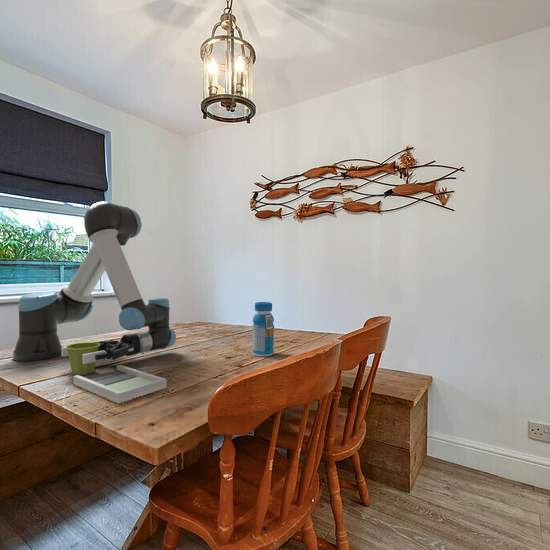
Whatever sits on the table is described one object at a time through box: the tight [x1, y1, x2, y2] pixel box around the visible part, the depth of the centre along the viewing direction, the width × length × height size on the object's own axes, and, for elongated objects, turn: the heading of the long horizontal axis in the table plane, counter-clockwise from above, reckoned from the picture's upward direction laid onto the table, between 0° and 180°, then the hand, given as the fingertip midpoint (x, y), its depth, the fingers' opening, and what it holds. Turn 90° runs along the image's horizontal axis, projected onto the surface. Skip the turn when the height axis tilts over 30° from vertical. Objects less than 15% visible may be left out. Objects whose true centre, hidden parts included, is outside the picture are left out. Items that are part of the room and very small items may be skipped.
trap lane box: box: [72, 364, 167, 404], centre depth 95 cm, size 23×14×2 cm, turn 54°
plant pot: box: [65, 341, 100, 376], centre depth 107 cm, size 9×9×9 cm
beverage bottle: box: [252, 301, 275, 357], centre depth 132 cm, size 8×8×20 cm
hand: (72, 355), depth 104 cm, fingers open, 13 cm apart
